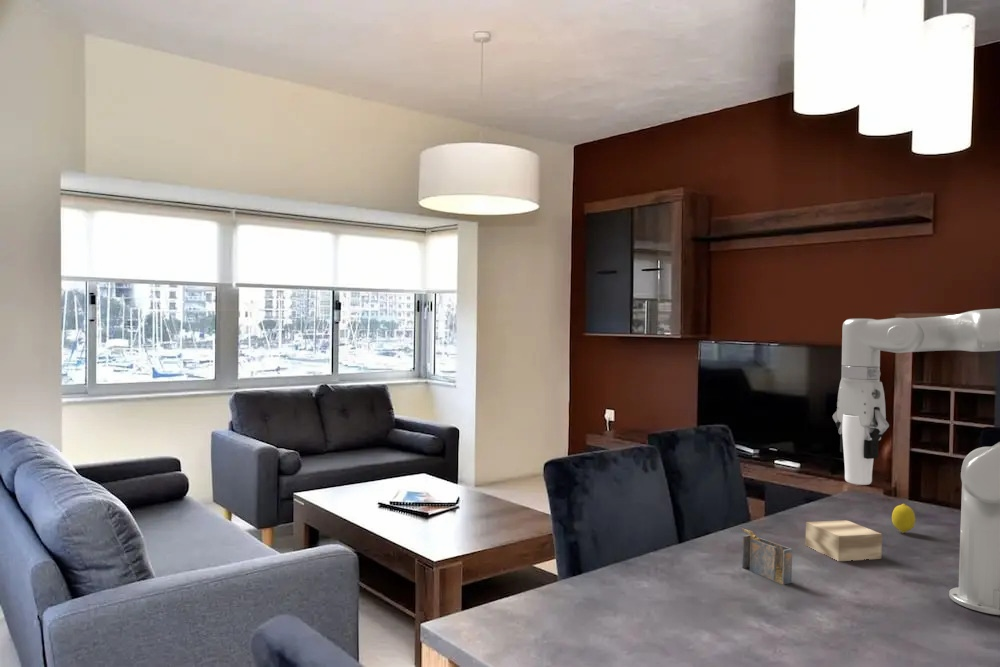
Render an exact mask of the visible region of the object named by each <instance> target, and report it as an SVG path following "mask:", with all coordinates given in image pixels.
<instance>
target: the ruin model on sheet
mask: <svg viewBox="0 0 1000 667" xmlns="http://www.w3.org/2000/svg"><path fill="white" fill-rule="evenodd" d="M742 530H743V532H744V533H746V534H748V535H742V548H741V549H742V550H741V554H742V555H741V569H746V568H749V572H752V573H755V574H757V575H759V576H762V577H764V578H767V579H769V580H772V581H773V582H775V583H778V584H780V585H785V584H787V585H788V584H791V583H792V579H793V578H792V577H793V548H791V547H787V546H785V545H783V544H782V545H781V544H779V543H776V542H773V541H770V540H767V539H764V538H761V537H759V536H757V535H756V534H755V533H753V532H754V531H753V530H751V529H749V530H748V529H747V528H746V529H745V528H744V527H742Z"/></svg>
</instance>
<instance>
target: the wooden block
mask: <svg viewBox="0 0 1000 667" xmlns="http://www.w3.org/2000/svg"><path fill="white" fill-rule="evenodd" d="M804 543H805V544H804V545H806V547H807V546H808V547H807V548H809V547H810V549H811V548H812V549H811V550H813V549H814V551H815V550H816V552H818V553H820V554H822V555H824V554H825V555H824V556H826V555H827V556H826V557H828V556H829V557H828V558H830V557H831V559H832V558H833V560H834V559H835V561H836V560H837V562H847V561H848V562H849V561H851V560H853V561H865V560H866V559H869V560H881V559H882V549H883V548H882V547H883V546H882V545H883V533H881V532H878V531H875V530H874V529H870V528H869V527H868V528H867V527H865V526H863V525H860V524H858V523H855V522H852V521H850V520H846V519H844V520H827V521H826V520H825V521H823V520H822V521H819V520H818V521H806V522H805V542H804ZM864 559H865V560H864ZM851 562H852V561H851Z"/></svg>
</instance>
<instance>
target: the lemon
mask: <svg viewBox="0 0 1000 667" xmlns="http://www.w3.org/2000/svg"><path fill="white" fill-rule="evenodd" d="M891 522H892V524H893V526H894V527H895V528H896V529H897V530H899V531H900V532H901V533H902V534H905V533H906V532H907V531H908V532H909V531H911V530H912V529H913V528H914V526H915V525H916V515H915V511H914V510H913V509H912V508H911V507H910V506H908V505H907V504H905V503H902V504H899V505H896V506H895V507H894V509H893V511H892V513H891Z"/></svg>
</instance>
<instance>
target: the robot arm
mask: <svg viewBox="0 0 1000 667" xmlns="http://www.w3.org/2000/svg"><path fill="white" fill-rule="evenodd" d="M841 331H842V334H841V335H842V338H841V379H840V382H839V387H838V393H837V402H836V407H837V408H836V411H835V412H834V413H833V415H832V419H833V421H834V422H835V425H836V426H835V427H836V428H837V430H838V431H837V432H838V434H839V435H840V436H839V442H840V443H839V452H840V453H843V454H844V451H843V437H842V420H843V414H844V415H849V416H858V417H859V420H860V424H861V426H862V427H864V432H865V435H866V439H867V440H864V458H866V459H874V460H875V459H878V458H879V441H881V440H882V437H883V435H884V434H885V432H886V431H887V429H888V428H889V427H890V424H889V422H888V421H887V419H886V418H887V416H886V415H887V414H886V399H885V397H886V396H885V390H884V386H883V382H882V381H881V380H880V377H881V374H882V373H881V369H880V368H881V351H883V352H889V353H895V354H902V353H903V354H905V353H916V352H917V353H919V352H935V351H939V352H940V351H965V352H975V353H976V352H978V353H979V352H998V351H1000V308H987V309H984V308H983V309H974V310H968V311H965V312H961V313H958V314H949V315H940V316H927V317H914V318H912V317H911V318H906V317H891V318H883V319H882V318H881V319H874V318H847V319H846V320H845V321H843V323H842V330H841ZM872 419H873V422H874V425H870V422H871V420H872ZM870 429H874V431H873V432H872V433H871V431H870ZM960 471H961V472H960V480H961V503H960V504H961V506H960V510H961V511H960V525H959V526H960V527H959V528H960V530H959V531H960V532H959V534H960V535H959V558H958V559H959V565H958V587H957V586H956V587H953V588H951V589H950V590H949V592H948V593H949V599H951V601H952V602H955V603H956V604H957V605H960V606H962V607H965V608H967V609H970V610H973V611H976V612H980V613H984V614H989V615H996V616H1000V441H998V442H997V443H995V444H994V445H992V446H982V447H978V448H975V449H973V450H972V451H970V452H969V453H968V454H966V456H965V457H964V459H963V461H962V465H961V469H960Z"/></svg>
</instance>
